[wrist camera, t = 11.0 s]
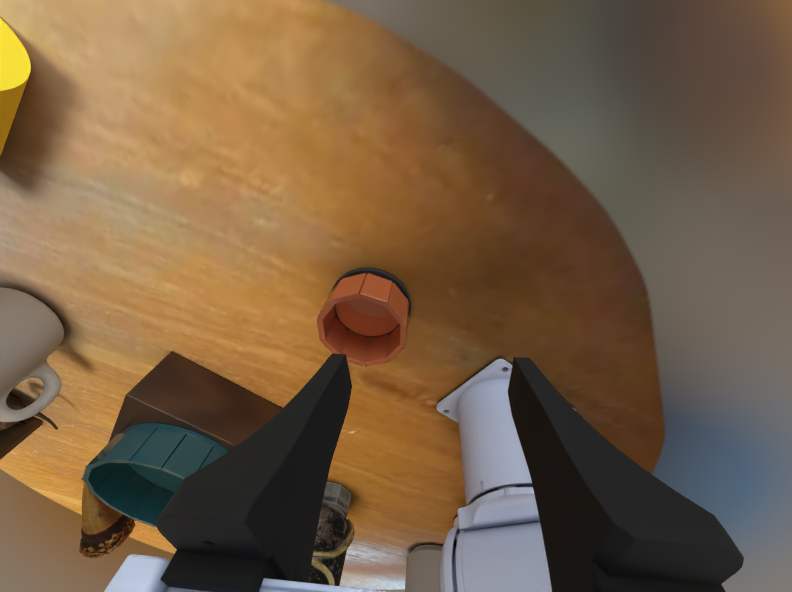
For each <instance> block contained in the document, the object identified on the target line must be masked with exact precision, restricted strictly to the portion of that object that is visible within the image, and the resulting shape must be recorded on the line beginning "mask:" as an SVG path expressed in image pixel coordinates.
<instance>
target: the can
mask: <svg viewBox="0 0 792 592" xmlns="http://www.w3.org/2000/svg"><path fill="white" fill-rule="evenodd" d="M441 551H442V546H437V545H421V546H417V547H416V548H414V549H413V551H412V552H411V553H410V554H409V555H408V556H407V564H406V584H405V592H440V580H439V567H440V556H441Z"/></svg>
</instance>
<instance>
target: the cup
mask: <svg viewBox="0 0 792 592" xmlns="http://www.w3.org/2000/svg"><path fill="white" fill-rule="evenodd" d="M63 337H64V329H63V326H62V323H61V321H60V320H59V318H58V317H57V316H56V314H55V313H54V312H53V311H52V310H51V309H50V308H49V307H47V306H46V305H45V304H44V303H42V302H41V301H39V300H38V299H36V298H34V297H33V296H31V295H29V294H26V293H24V292H21V291H18V290H15V289H10V288H0V422H16V421H21V420H24V419H27V418H30V417H32V416H34V415H36V414H37V413H39V412H40V411H42V410H43V409H44V408H46V407H47V406H48V405H49V404H50V403H51V402H52V401H53V400H54V399H55V397H56V396H57V395H58V393H59V391H60V389H61V379H60V377H59V375H58V374H57V373H56V372H55V371H54V370H53V369H52V368H51V367H50V366H49V365H48V363H47V360H46V359H47V357H48V356H49V355H50V354H51V353H52V352H53V351H54V350H55V349H56V348H57V347H58V346H59V345H60V343H61V342H62V340H63ZM30 377H35V378H38V379H40V380H42V381H43V383H44V390H43V392H42V394H41V395H40V396H39V398H38V399H37V400H36V401H35V402H33V403H32V404H31V405H29V406H27V407H25V408H23V409H20V410H12V409H10V408H9V407H8V406H7V405H6V398H7V396H8V394H9V393H10V392H11V390H12V389H13V388H14V387H15V386H17V385H18V384H19V383H20V382H22V381H23V380H25V379H27V378H30Z"/></svg>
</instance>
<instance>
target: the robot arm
mask: <svg viewBox="0 0 792 592" xmlns="http://www.w3.org/2000/svg"><path fill="white" fill-rule="evenodd" d="M504 367H507V368H504ZM351 389H352V384H351V379H350V373H349V368H348V363H347V357H346V354H332V355H331V356H330V357H329V358H328V359H327V360H326V362H325V363H324V364H323V365H322V367H321V368H320V369H319V370H318V371H317V372H316V374H315V375H314V376H313V377H312V378H311V379H310V381H309V382H308V383H307V384H306V385H305V386H304V387H303V388H302V389H301V391H300V392H299V393H298V394H297V395H296V396H295V397H294V398H293V399H292V400H291V401H290V402H289V403H288V404H287V405H286V406H285V407H284V408H283V409H282V410H281V411H280V412H278V413H277V414H276V415H275V416H274V417H273V418H272V419H271V420H269V421H268V422H267V423H266V424H265V425H263V426H262V427H261V428H260V429H259V430H257V431H256V432H255V433H253V434H252V435H251V436H249V437H248V438H247V439H246V440H244V441H243V442H242V443H240V444H239V445H237V446H236V447H234V448H233V449H231V450H230V451H228V452H227V453H225V454H224V455H222V456H221V457H219V458H218V459H216V460H215V461H213V462H211V463H210V464H208V465H206V466H205V467H203V468H201V469H200V470H198V471H196V472H195V473H193V474H191V475H189V476H188V477H186V478H184V480H183V481H182V483H181V484H180V485H179V487H178V488H177V489H176V491H175V493H174V494H173V496H172V497H171V499H170V500H169V502H168V503H167V505H166V506H165V508H164V509H163V511H162V513H161V514H160V516H159V517H158V519H157V521H156V523H157V528H158V530H159V531H160V533H161V534H162V535H163V536H164V537H165V538H166V539H167V540H168V541H169V542H170V543H171V544H172V545H173V546H174V547H175V548H176V549H177V551H176V553H175V554H174V556H173V558H172V560H171V561H170V560H168V559H165V558H161V557H154V556H144V555H135V554H131V555H129V556H128V557H127V558H126V560H125V561H124V563H123V564H122V566H121V567H120V569H119V570H118V572H117V573H116V575H115V576H114V577H113V579H112V580H111V582H110V583H109V585H108V587H107V588H106V589H105V591H104V592H387V591H380V590H370V589H361V588H351V587H342V586H333V585H323V584H314V583H309V576H310V570H311V563H312V557H313V551H314V545H315V539H316V534H317V528H318V523H319V517H320V512H321V507H322V502H323V497H324V492H325V487H326V482H327V478H328V473H329V469H330V465H331V461H332V457H333V454H334V451H335V448H336V445H337V441H338V438H339V435H340V432H341V429H342V426H343V422H344V419H345V416H346V413H347V409H348V405H349V400H350V395H351ZM436 409H437V411H439V412H440V413H442V414H444V415H445V416H447V417H449V418H450V419H452V420H454V421H456V422H457V423H459V433H460V444H461V456H462V467H463V478H464V489H465V501H466V506H465V507H462V508H458V509H457V510H458V525H459V526H457V527H453V528H451V529H450V530H449V532H448V534H447V536H446V539H445V542H444V544H443V547H442V551H441V556H440V567H439V580H440V592H725V590H724V588H723V587H722V585H721V584H722V583H723V582H724V581H726V580H727V579H728V578H729V577H731V576H732V575H733V574H735V573H736V572H737V571H738V570H739V569H740V568H741V567H742V565H743V560H744V557H743V556H742V554H741V553H740V551H739V550H738V548H737V547H736V545H735V544H734V542H733V541H732V539H731V538H730V536H729V535H728V533H727V532H726V530H725V529H724V528H723V526H722V525H721V524H720V523H719V521H718V520H717V519H716V517H715V516H714V515H713V514H711V513H709V512H708V511H706V510H705V509H703V508H702V507H700V506H698V505H697V504H695V503H694V502H692V501H691V500H689V499H687V498H685V497H684V496H682V495H681V494H679V493H677V492H676V491H675V490H673V489H672V488H670V487H669V486H667V485H666V484H664V483H663V482H662V481H660V480H659V479H657V478H656V477H654V476H653V475H651V474H650V473H649V472H647V471H646V470H645V469H643V468H642V467H640V466H639V465H638V464H637V463H635V462H634V461H633V460H631V459H630V458H629V457H627V456H626V455H625V454H624V453H622V452H621V451H620V450H618V449H617V448H616V447H615V446H614V445H612V444H611V443H610V442H609V441H608V440H606V439H605V438H604V437H603V436H602V435H601V434H600V433H598V432H597V431H596V430H595V429H594V428H593V427H592V426H591V425H590V424H589V423H588V422H587V421H585V420H584V419H583V418H582V417H581V416H580V415H579V414H578V413H577V412H576V410H575V409H574V408H573V407H572V406H571V405H570V404H569V403H568V402H567V401H566V400H565V399H564V398H563V397H562V396H561V395H560V393H559V392H558V391H557V390H556V389H555V388H554V387H553V386H552V384H551V383H550V382H549V381H548V380H547V379H546V377H545V376H544V375H543V374H542V373H541V371H540V370H539V369H538V368H537V366H536V365H535V364H534V363H533V361H532V360H531V359H530V358H514V360H513V365H511V364H510V363H508V362H507V361H505V360H504V359H497V360H495V361H494V362H493V363H491V364H490V365H489V366H487V367H486V368H484V369H483V370H482V371H480V372H479V373H478V374H476V375H475V376H474V377H472V378H471V379H470V380H468V381H467V382H466V383H464V384H463V385H462V386H460V387H459V388H458V389H456V390H455V391H454V392H452V393H451V394H450V395H448V396H447V397H446V398H444V399H443V400H442V401H440V402H439V403H438V404H437V405H436ZM388 592H389V591H388Z"/></svg>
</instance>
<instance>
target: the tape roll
mask: <svg viewBox="0 0 792 592" xmlns="http://www.w3.org/2000/svg"><path fill="white" fill-rule="evenodd" d="M30 71H31V64H30V59H29V56H28V54H27V52H26V50H25V48H24V46H23V45H22V43H21V42H20V40H19V39H18V37H17V36H16V35H15V33H14V32H13V31H12V30H11V29H10V28H9V26H8V25H7V24H6V23H5V22H4V21H3V20H2V19H1V18H0V156H1V154H2V151H3V148H4V145H5V142H6V140H7V137H8V134H9V131H10V128H11V125H12V123H13V120H14V117H15V114H16V111H17V109H18V106H19V103H20V100H21V97H22V94H23V92H24V89H25V86H26V83H27V80H28V78H29V75H30Z"/></svg>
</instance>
